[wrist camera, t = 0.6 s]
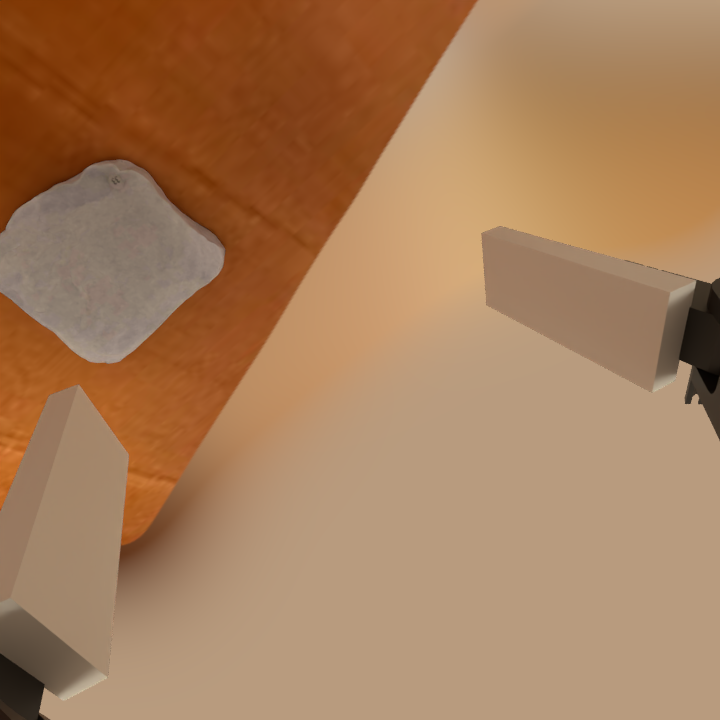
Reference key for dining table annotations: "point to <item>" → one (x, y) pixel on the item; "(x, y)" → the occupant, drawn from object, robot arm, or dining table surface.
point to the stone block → (105, 259)
